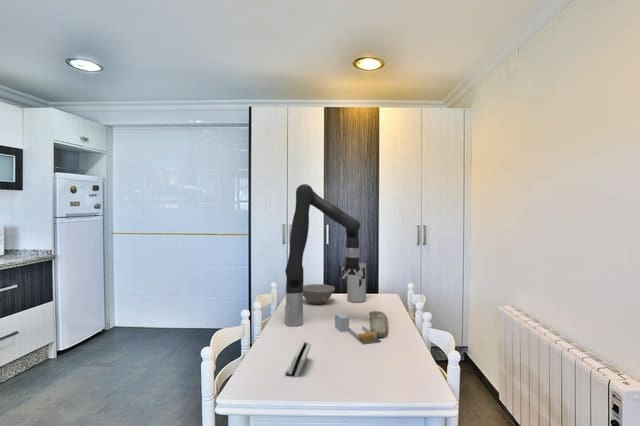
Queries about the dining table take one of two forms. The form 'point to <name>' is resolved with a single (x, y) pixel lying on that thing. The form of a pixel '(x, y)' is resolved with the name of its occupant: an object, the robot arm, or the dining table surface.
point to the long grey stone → (378, 323)
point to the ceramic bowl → (317, 293)
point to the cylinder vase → (356, 287)
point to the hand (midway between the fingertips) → (351, 286)
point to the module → (341, 322)
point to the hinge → (298, 359)
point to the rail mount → (365, 336)
